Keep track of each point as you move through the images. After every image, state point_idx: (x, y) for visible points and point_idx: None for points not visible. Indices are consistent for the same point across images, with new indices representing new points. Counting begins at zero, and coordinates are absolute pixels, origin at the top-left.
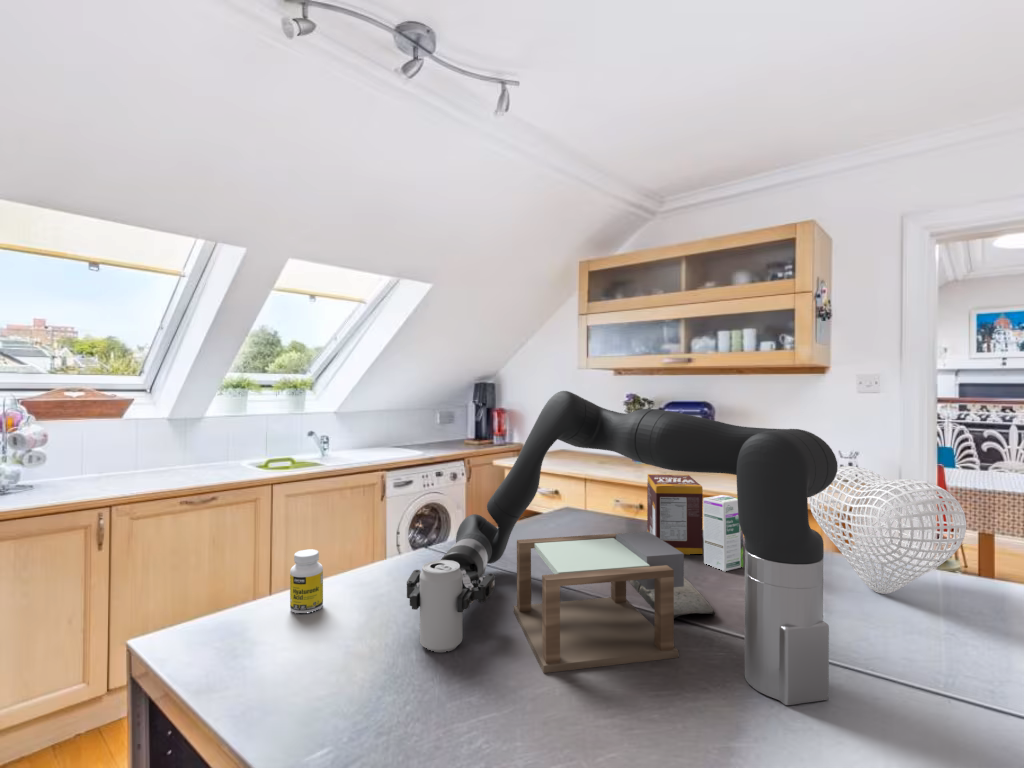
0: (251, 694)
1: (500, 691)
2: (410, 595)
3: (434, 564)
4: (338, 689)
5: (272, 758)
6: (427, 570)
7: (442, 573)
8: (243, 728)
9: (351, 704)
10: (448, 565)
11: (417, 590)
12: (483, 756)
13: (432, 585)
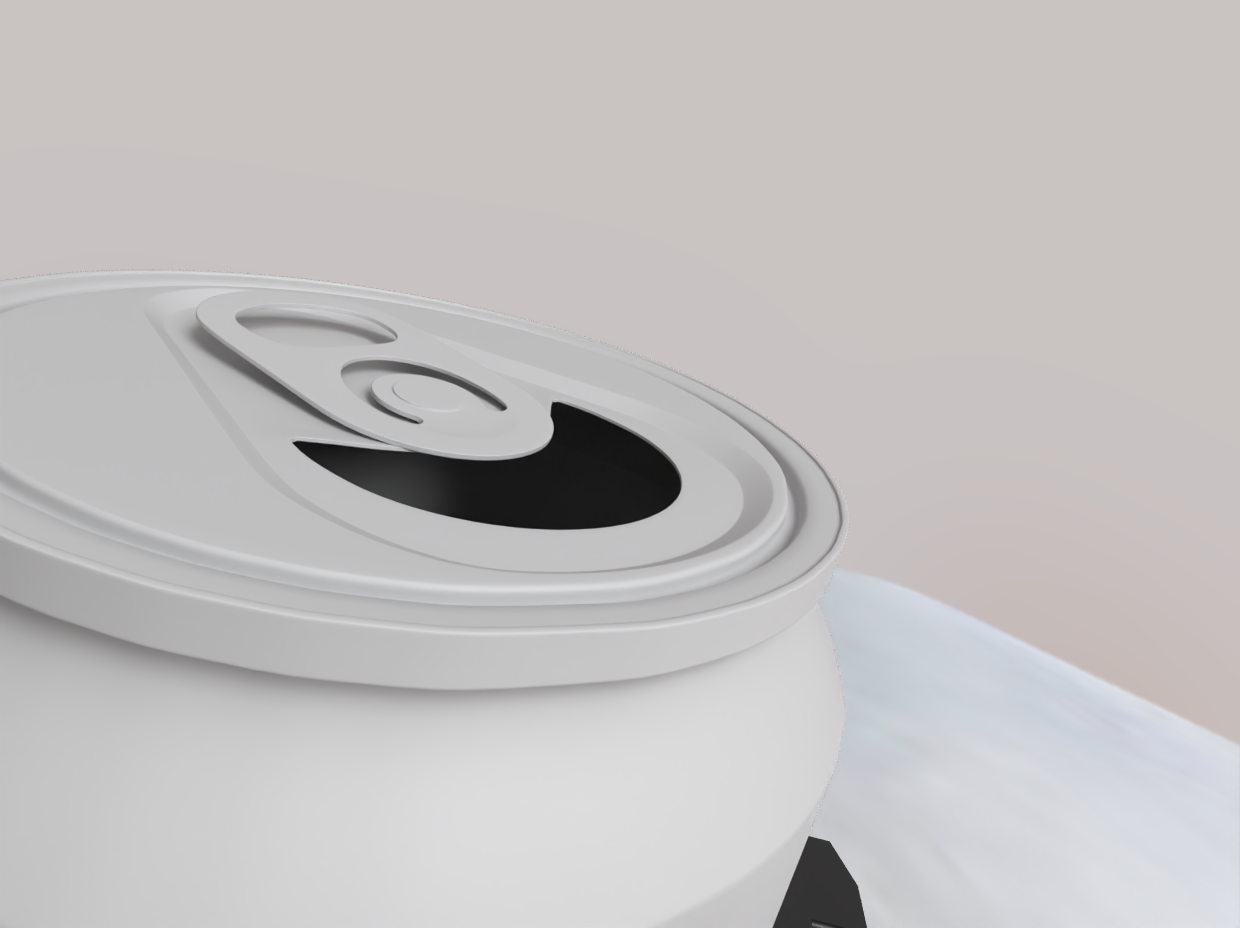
0: (1218, 816)
1: None
2: (838, 870)
3: (624, 742)
4: (882, 788)
5: (841, 570)
6: (660, 383)
7: (405, 304)
8: (1027, 665)
9: None
10: (212, 401)
11: (784, 908)
12: None
13: (522, 477)
